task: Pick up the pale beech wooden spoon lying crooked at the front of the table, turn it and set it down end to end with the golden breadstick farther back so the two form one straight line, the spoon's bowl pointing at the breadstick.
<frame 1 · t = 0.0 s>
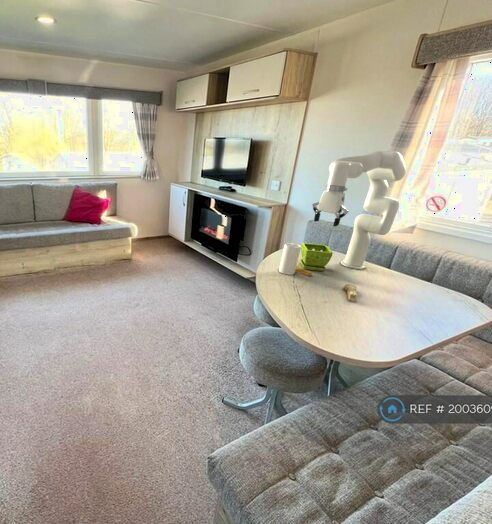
hand: (325, 223, 155), 31 cm above the table, tool pointing down, fingers open, 9 cm apart
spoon: (350, 295, 152), on the table
flower pot: (311, 267, 184), on the table
cup: (286, 272, 176), on the table
breadstick: (302, 272, 176), on the table
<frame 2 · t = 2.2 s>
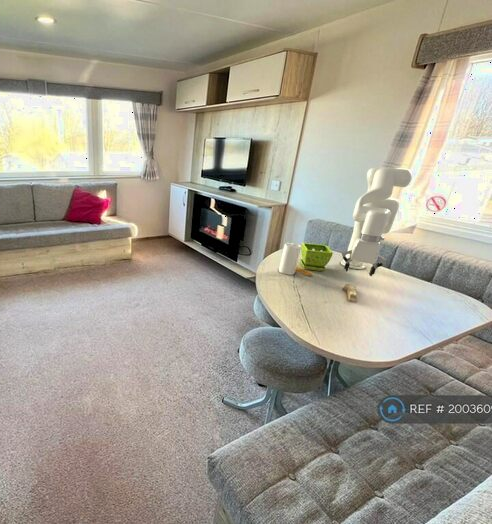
hand: (358, 272, 146), 13 cm above the table, tool pointing down, fingers open, 9 cm apart
nothing on the table moved.
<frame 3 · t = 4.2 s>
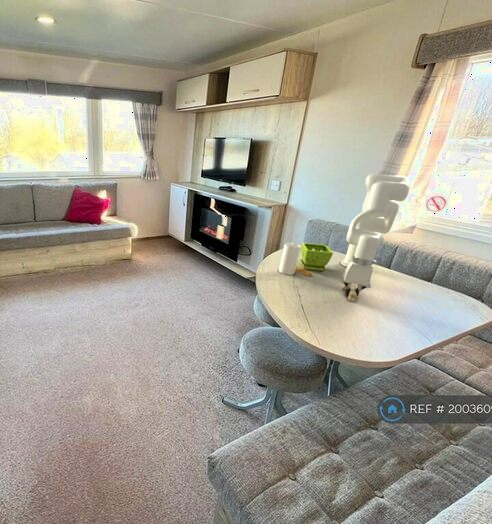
hand: (350, 296, 150), 0 cm above the table, tool pointing down, fingers closed on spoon, 2 cm apart
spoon: (350, 295, 152), on the table, touching gripper
everything else where it was.
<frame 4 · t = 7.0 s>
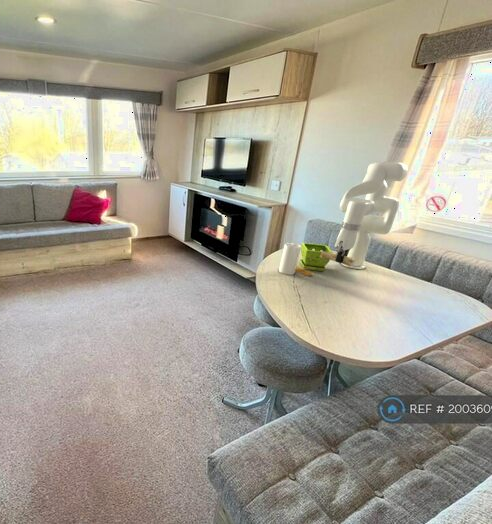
hand: (340, 261, 157), 13 cm above the table, tool pointing down, fingers closed on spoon, 2 cm apart
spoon: (336, 260, 159), point 13 cm above the table, touching gripper
everything else where it was.
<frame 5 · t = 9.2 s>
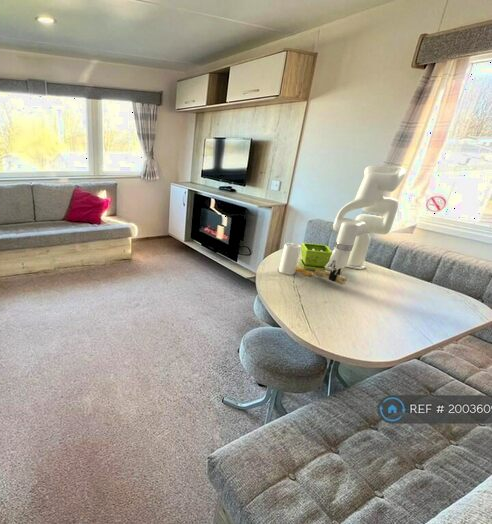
hand: (333, 279, 161), 3 cm above the table, tool pointing down, fingers closed on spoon, 2 cm apart
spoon: (329, 279, 163), point 2 cm above the table, touching gripper
everything else where it was.
when the fingers open (0 cm above the table, at t = 10.1 s): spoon stays where it is, on the table.
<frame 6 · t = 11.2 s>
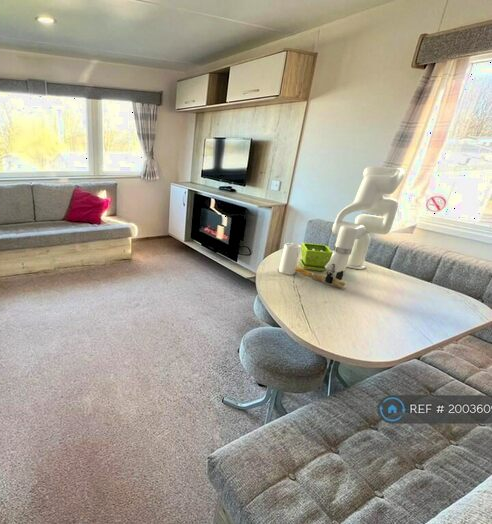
hand: (333, 280, 162), 2 cm above the table, tool pointing down, fingers open, 9 cm apart
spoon: (328, 283, 164), on the table
everything else where it was.
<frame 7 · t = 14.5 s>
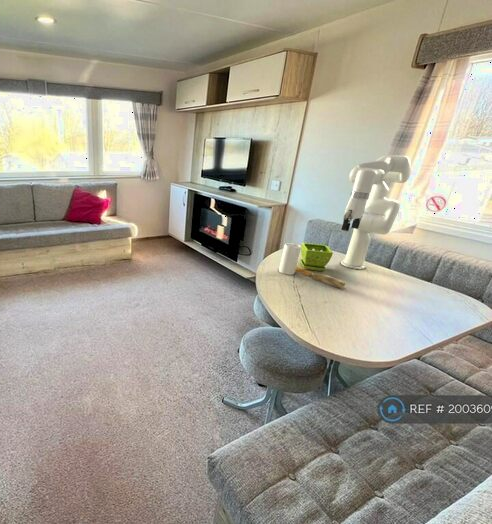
hand: (349, 229, 158), 28 cm above the table, tool pointing down, fingers open, 9 cm apart
nothing on the table moved.
at the end: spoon 0.1 cm from the target spot on the table beside the breadstick, on the table; the gripper is holding nothing; breadstick moved 0.0 cm from its start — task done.
